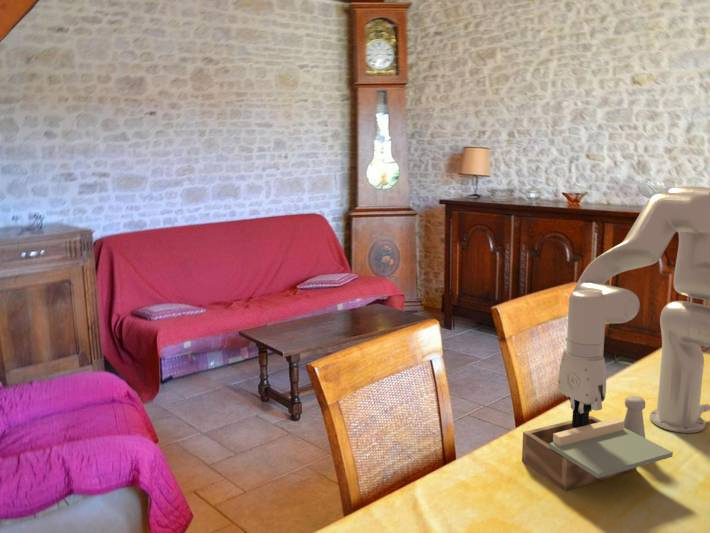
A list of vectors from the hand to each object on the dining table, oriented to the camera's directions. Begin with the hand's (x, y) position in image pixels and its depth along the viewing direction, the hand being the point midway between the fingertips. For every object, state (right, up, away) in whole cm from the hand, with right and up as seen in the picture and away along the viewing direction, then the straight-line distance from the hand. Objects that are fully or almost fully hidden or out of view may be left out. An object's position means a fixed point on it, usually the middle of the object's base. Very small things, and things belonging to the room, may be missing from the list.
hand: (580, 427), depth 141 cm
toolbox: (0, -9, +2) cm, 9 cm away
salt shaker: (+15, -8, +8) cm, 19 cm away
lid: (+4, -3, -7) cm, 9 cm away
